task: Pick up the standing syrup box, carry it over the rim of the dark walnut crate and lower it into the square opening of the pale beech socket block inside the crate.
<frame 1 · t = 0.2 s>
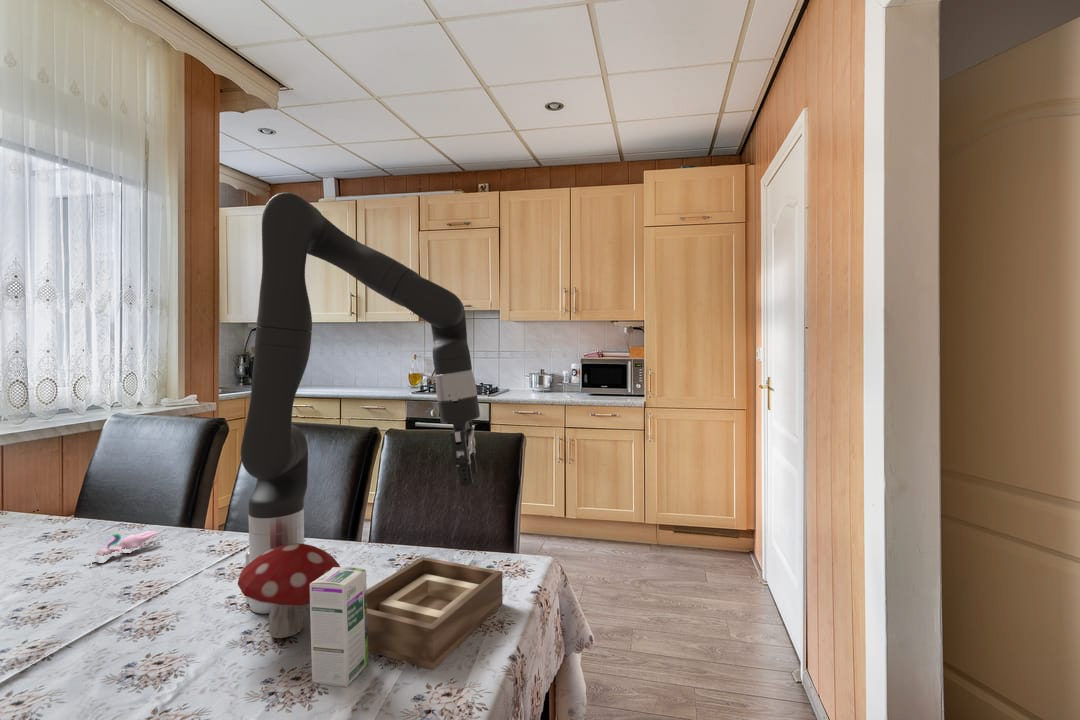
hand: (469, 479, 100), 22 cm above the table, tool pointing down, fingers open, 8 cm apart
crate: (426, 622, 91), on the table
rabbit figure: (125, 555, 122), on the table
decorative mushroom: (293, 635, 87), on the table
syrup box: (340, 674, 76), on the table
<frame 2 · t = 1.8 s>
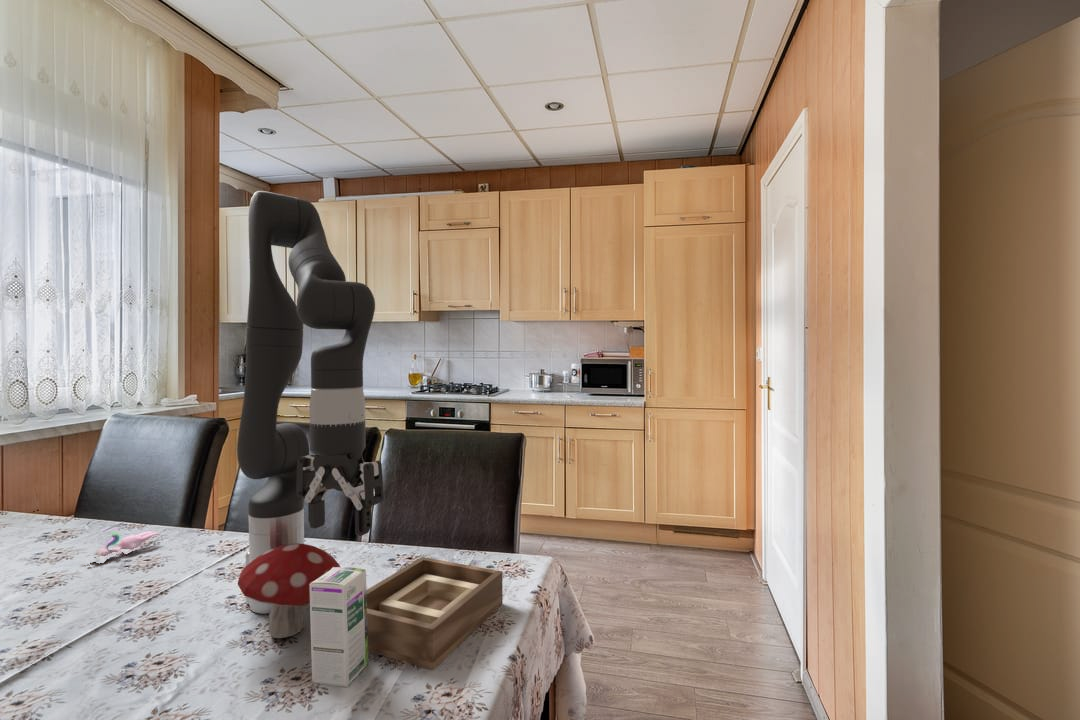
hand: (339, 530, 76), 21 cm above the table, tool pointing down, fingers open, 8 cm apart
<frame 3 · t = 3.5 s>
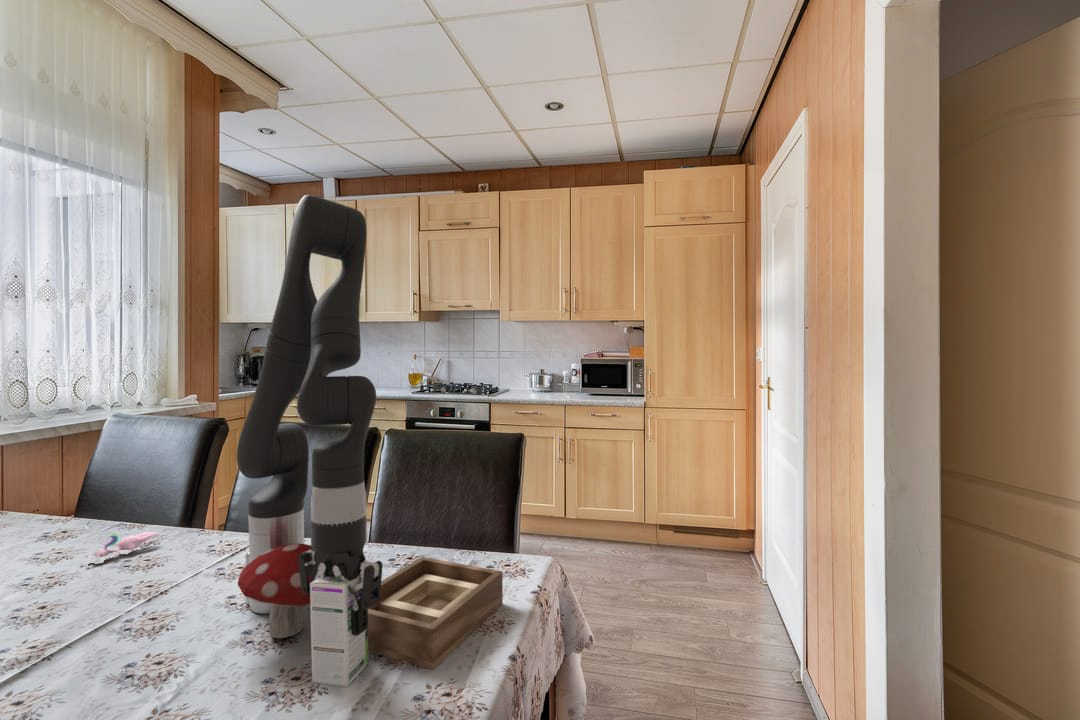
hand: (340, 627, 76), 7 cm above the table, tool pointing down, fingers closed on syrup box, 6 cm apart
syrup box: (340, 674, 76), on the table, touching gripper
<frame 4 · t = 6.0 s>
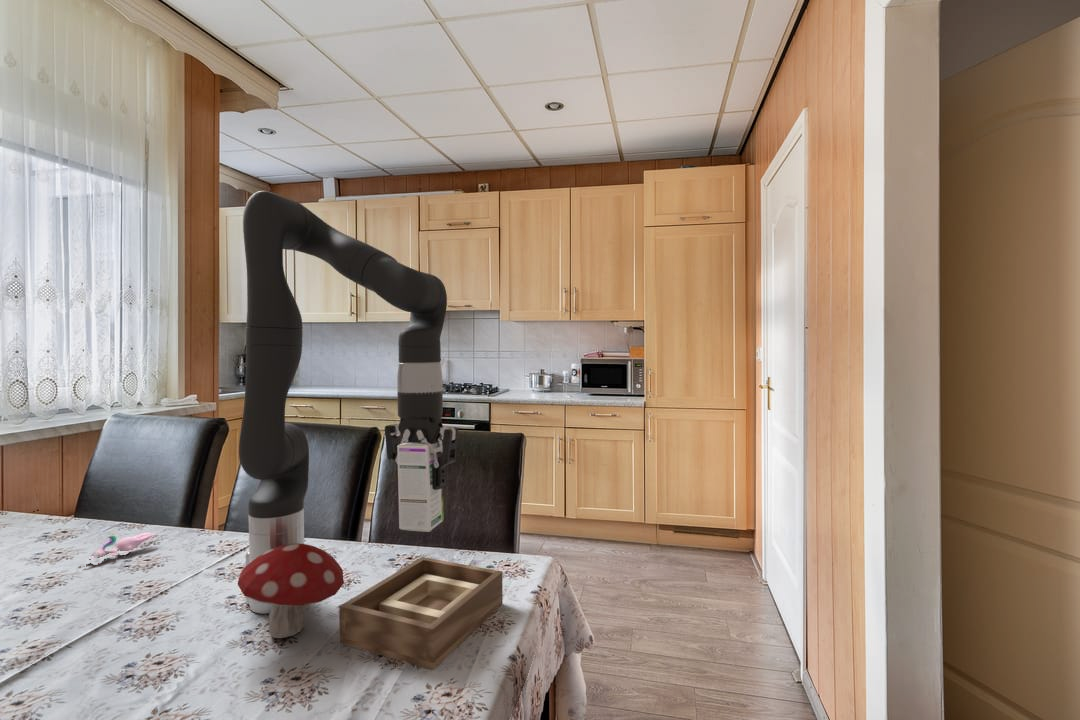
hand: (421, 486, 90), 24 cm above the table, tool pointing down, fingers closed on syrup box, 6 cm apart
syrup box: (421, 526, 90), point 17 cm above the table, touching gripper
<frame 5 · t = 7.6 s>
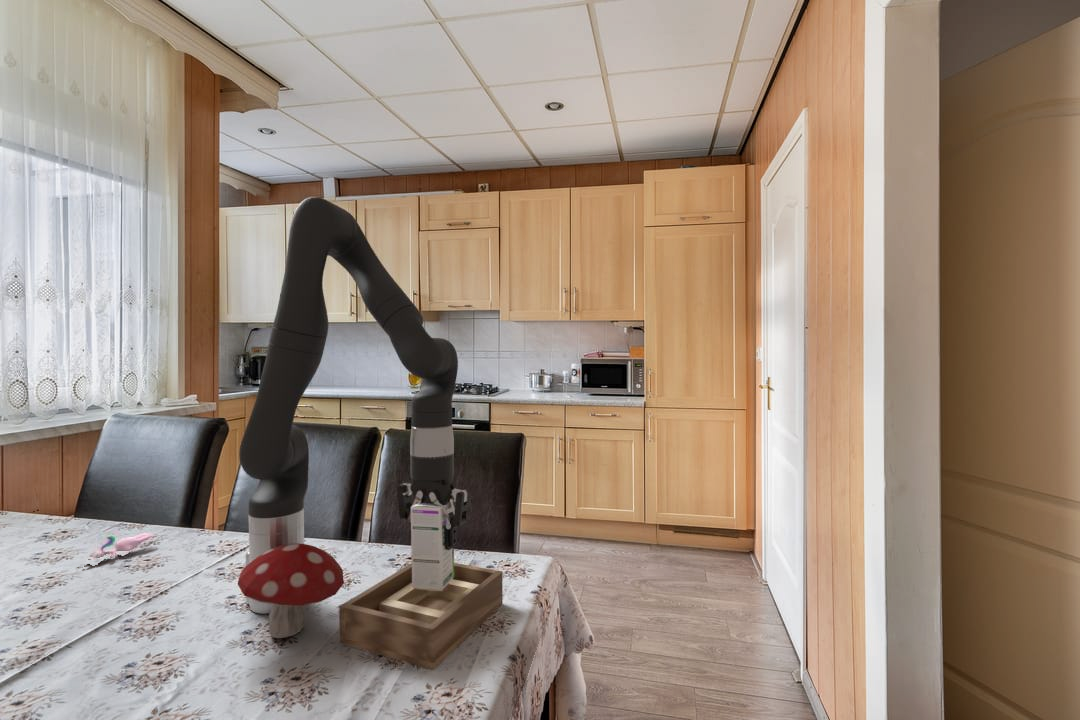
hand: (432, 545, 92), 13 cm above the table, tool pointing down, fingers closed on syrup box, 6 cm apart
syrup box: (433, 584, 92), point 6 cm above the table, touching gripper
when the fingers open (9 cm above the table, at t = 8.9 s): syrup box stays where it is, resting on crate.
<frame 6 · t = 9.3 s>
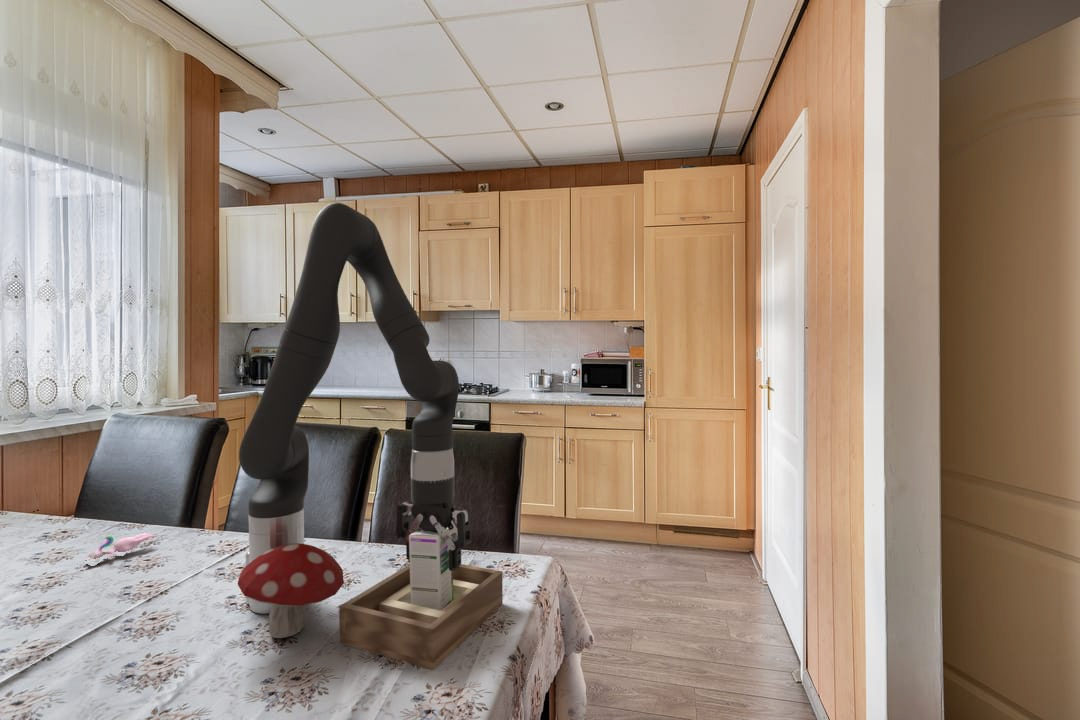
hand: (433, 565, 92), 9 cm above the table, tool pointing down, fingers open, 8 cm apart
syrup box: (432, 611, 93), point 1 cm above the table, touching crate
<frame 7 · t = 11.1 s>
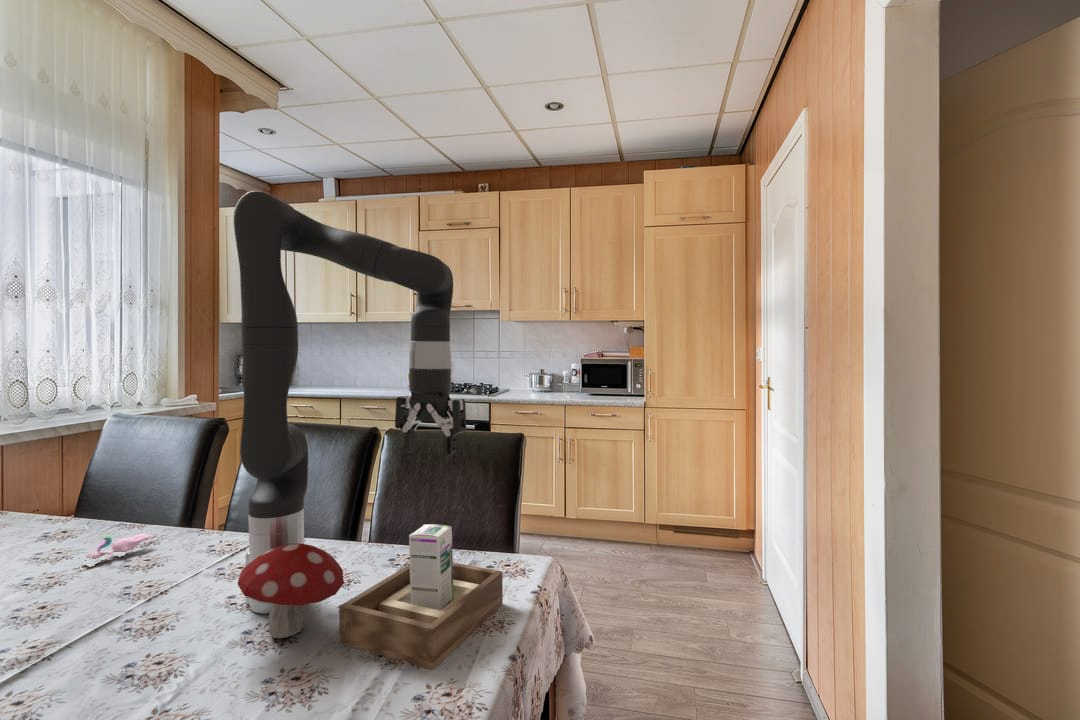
hand: (429, 454, 96), 28 cm above the table, tool pointing down, fingers open, 8 cm apart
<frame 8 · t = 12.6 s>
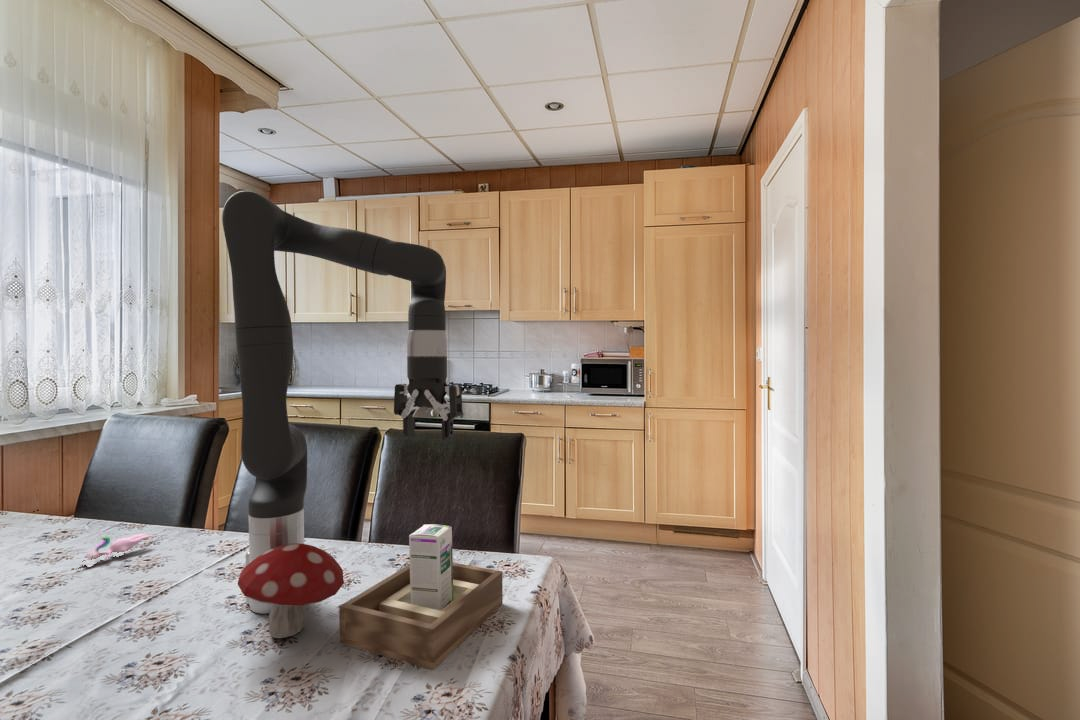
hand: (427, 438, 101), 30 cm above the table, tool pointing down, fingers open, 8 cm apart
at the end: syrup box 0.3 cm from the target spot on the crate, point 0.8 cm above the crate's base; syrup box tilted 0°; the gripper is holding nothing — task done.
